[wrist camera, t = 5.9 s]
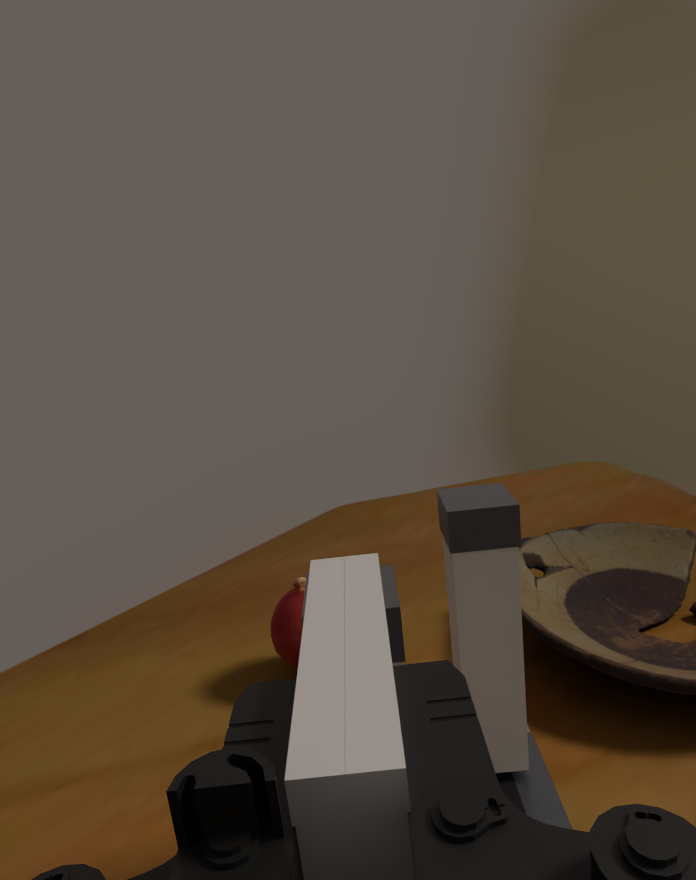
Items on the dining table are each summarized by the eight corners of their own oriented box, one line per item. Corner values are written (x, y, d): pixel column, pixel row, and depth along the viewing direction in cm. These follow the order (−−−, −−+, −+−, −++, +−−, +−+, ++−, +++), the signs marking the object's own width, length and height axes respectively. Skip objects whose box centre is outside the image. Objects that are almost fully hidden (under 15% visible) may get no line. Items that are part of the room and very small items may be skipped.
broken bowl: (627, 549, 64) (626, 477, 62) (1048, 710, 38) (1069, 592, 36) (443, 619, 55) (436, 537, 53) (831, 897, 28) (844, 751, 27)
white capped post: (467, 777, 32) (447, 512, 28) (456, 733, 35) (436, 489, 31) (531, 771, 31) (519, 504, 28) (514, 727, 35) (501, 482, 31)
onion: (287, 650, 53) (274, 561, 51) (356, 649, 52) (346, 558, 50) (269, 694, 47) (253, 596, 45) (345, 694, 46) (333, 593, 44)
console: (337, 1069, 24) (324, 987, 23) (339, 773, 39) (331, 715, 38) (628, 1043, 24) (628, 959, 23) (520, 756, 38) (517, 697, 37)
